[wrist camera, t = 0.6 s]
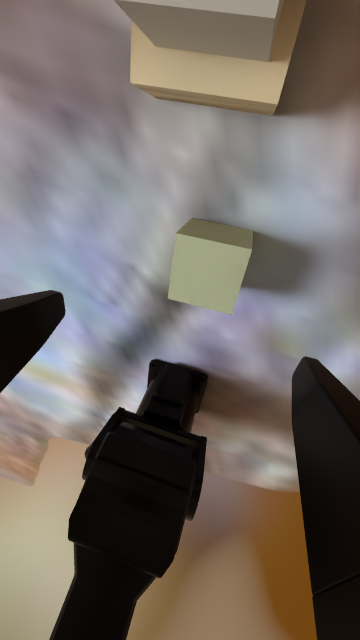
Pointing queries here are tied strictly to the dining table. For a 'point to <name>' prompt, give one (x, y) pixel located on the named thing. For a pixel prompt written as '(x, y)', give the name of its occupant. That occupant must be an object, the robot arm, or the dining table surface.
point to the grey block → (209, 25)
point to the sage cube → (209, 264)
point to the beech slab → (217, 70)
